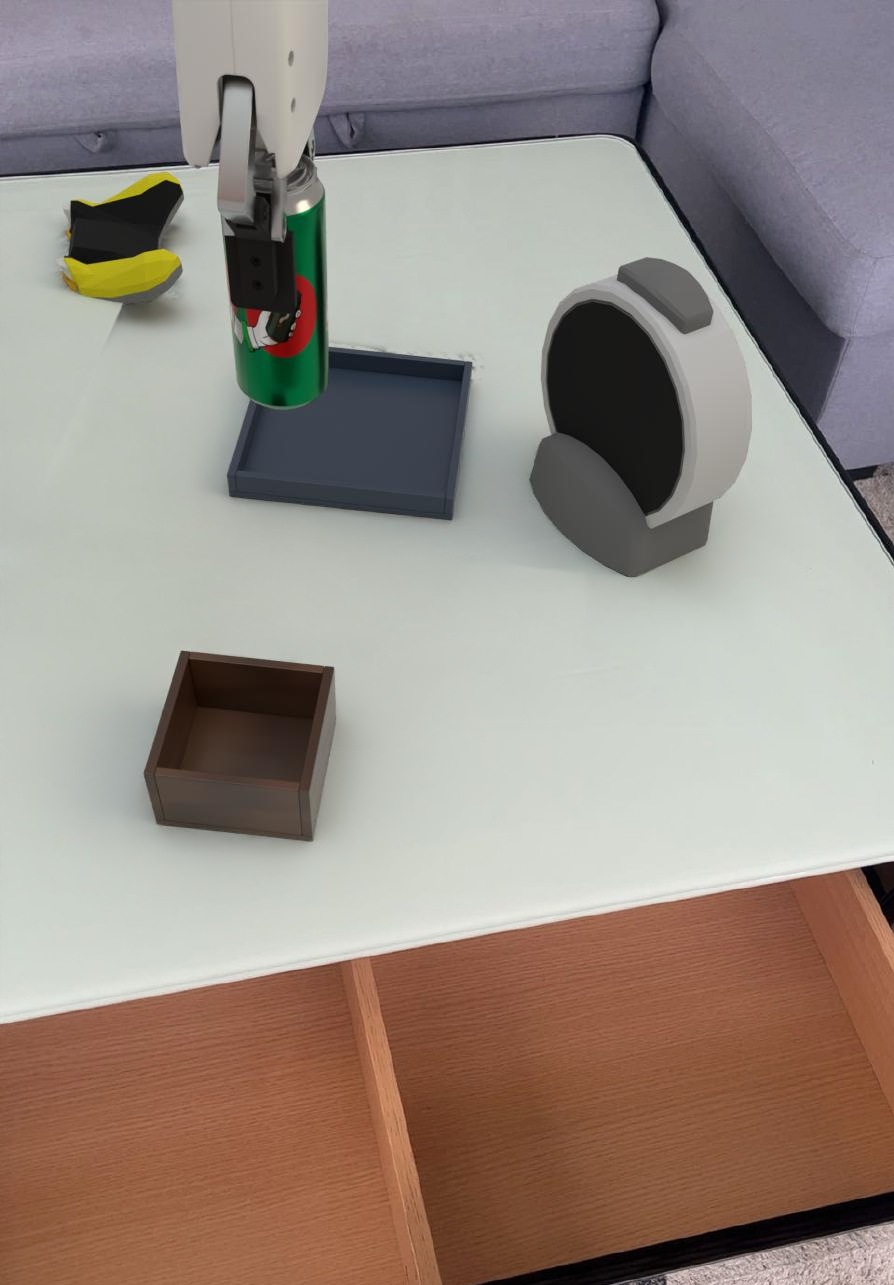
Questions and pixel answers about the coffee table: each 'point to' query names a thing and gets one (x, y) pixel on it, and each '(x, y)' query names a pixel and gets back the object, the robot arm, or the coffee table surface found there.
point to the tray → (362, 438)
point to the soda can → (298, 342)
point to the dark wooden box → (243, 745)
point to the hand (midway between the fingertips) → (276, 271)
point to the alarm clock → (640, 416)
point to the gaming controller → (124, 242)
